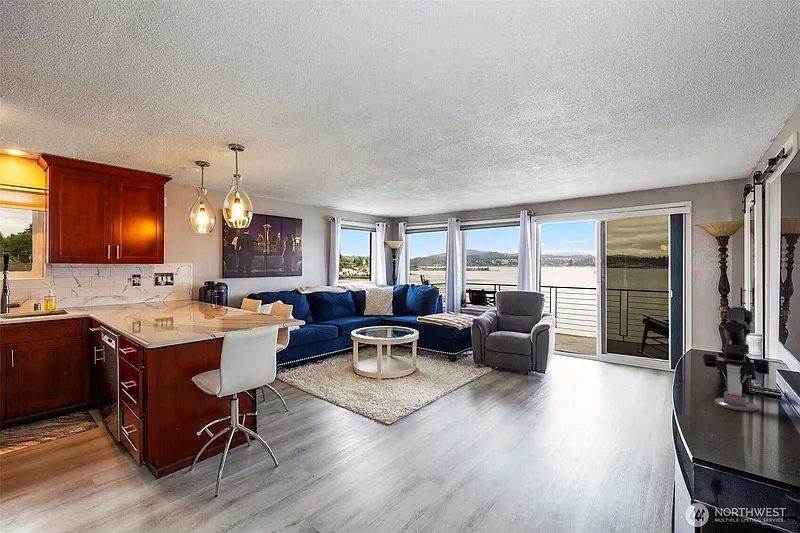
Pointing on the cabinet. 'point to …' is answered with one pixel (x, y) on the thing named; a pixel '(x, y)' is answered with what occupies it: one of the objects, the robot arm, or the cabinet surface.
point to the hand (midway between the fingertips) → (734, 381)
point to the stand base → (736, 403)
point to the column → (734, 380)
